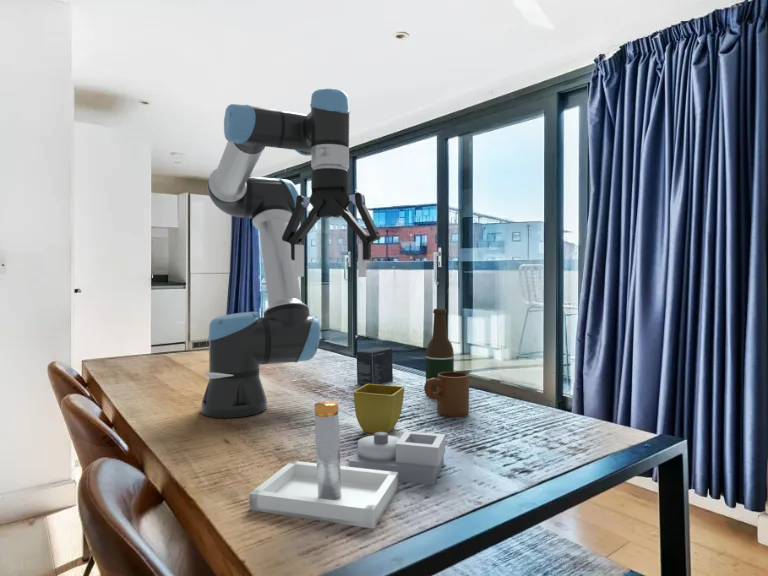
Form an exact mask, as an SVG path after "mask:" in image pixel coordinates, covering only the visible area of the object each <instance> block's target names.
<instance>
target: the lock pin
mask: <svg viewBox="0 0 768 576" xmlns="http://www.w3.org/2000/svg"><path fill="white" fill-rule="evenodd" d="M313 406H314V424H315V425H314V426H315V429H314V430H315V452H316V453H315V455H316V463H317V484H318V498H320V499H328V500H336V499H338V498H340V497H341V470H340V466H341V447H340V446H341V445H340V443H341V442H340V425H339V424H340V422H339V420H340V419H339V403H338V402H337V401H333V400H332V401H331V400H329V401H328V400H327V401H320V402H316V403H315V404H314V405H313Z"/></svg>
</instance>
